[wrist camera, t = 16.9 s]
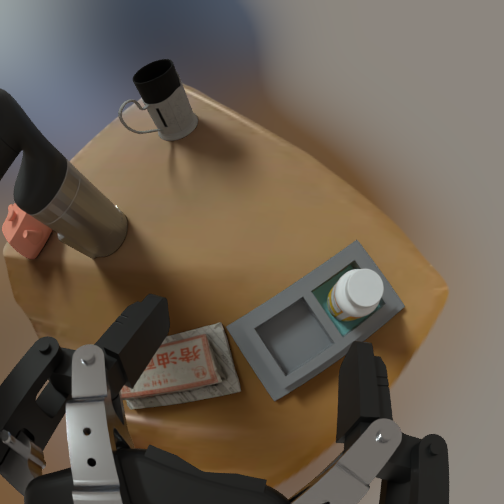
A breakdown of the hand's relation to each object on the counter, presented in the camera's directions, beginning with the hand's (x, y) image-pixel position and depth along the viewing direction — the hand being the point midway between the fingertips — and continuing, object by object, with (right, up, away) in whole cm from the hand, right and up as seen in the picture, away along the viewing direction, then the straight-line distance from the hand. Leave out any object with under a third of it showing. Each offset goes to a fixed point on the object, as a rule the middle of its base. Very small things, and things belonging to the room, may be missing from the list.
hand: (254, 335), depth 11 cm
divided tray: (+9, -6, +24) cm, 26 cm away
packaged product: (-11, -14, +25) cm, 30 cm away
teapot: (-47, +7, +36) cm, 59 cm away
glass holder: (-17, +27, +39) cm, 50 cm away
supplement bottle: (+12, -3, +24) cm, 27 cm away
